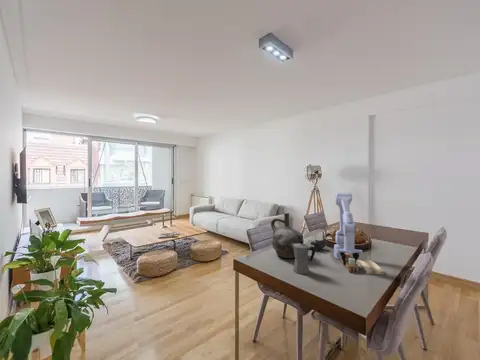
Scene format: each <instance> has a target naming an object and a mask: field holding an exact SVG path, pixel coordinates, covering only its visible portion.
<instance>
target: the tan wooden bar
mask: <svg viewBox="0 0 480 360" xmlns="http://www.w3.org/2000/svg"><path fill="white" fill-rule="evenodd" d="M340 263H341V264H342V266H343V267H344V268H345V269H346V271H347V272H348V273H349V272H350V273H353V274H354V273H355V274H359V265H358V264H357V263H355V265H350V264H349V263H348V259H345V265H343V261H342V258H341V259H340Z"/></svg>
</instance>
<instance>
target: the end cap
mask: <svg viewBox="0 0 480 360" xmlns="http://www.w3.org/2000/svg"><path fill="white" fill-rule="evenodd" d="M310 245H312V246H310V247H313V248H314V250H315V252H319V251H320V250H322V249H325V247H326V242H325V240H322V239H321V240H318V239H315V240H314V241H310Z"/></svg>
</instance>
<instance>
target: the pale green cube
mask: <svg viewBox="0 0 480 360" xmlns="http://www.w3.org/2000/svg"><path fill="white" fill-rule="evenodd" d="M348 263H349V264H350V265H355V259H354V258H353V257H350V258H348Z"/></svg>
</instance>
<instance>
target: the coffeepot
mask: <svg viewBox="0 0 480 360" xmlns="http://www.w3.org/2000/svg"><path fill="white" fill-rule="evenodd" d="M303 241H304V240H303ZM303 241H300V243H298V244H295V243H294V244H291V245H292V246H293V249H294V256H295V259H294V263H293V267H292V268H293V272H294V273H295V274H298V275H307V274H309V272H310V269H309V268H310V267H309V262H313V260H314V257H315V255H316V251H315V250H314V248H313V247H314V246H313V247H311V246H310V245H309V244H307V243H303V244H302V242H303ZM309 251H311V255H310V258H309V259H308V256H309Z"/></svg>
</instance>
